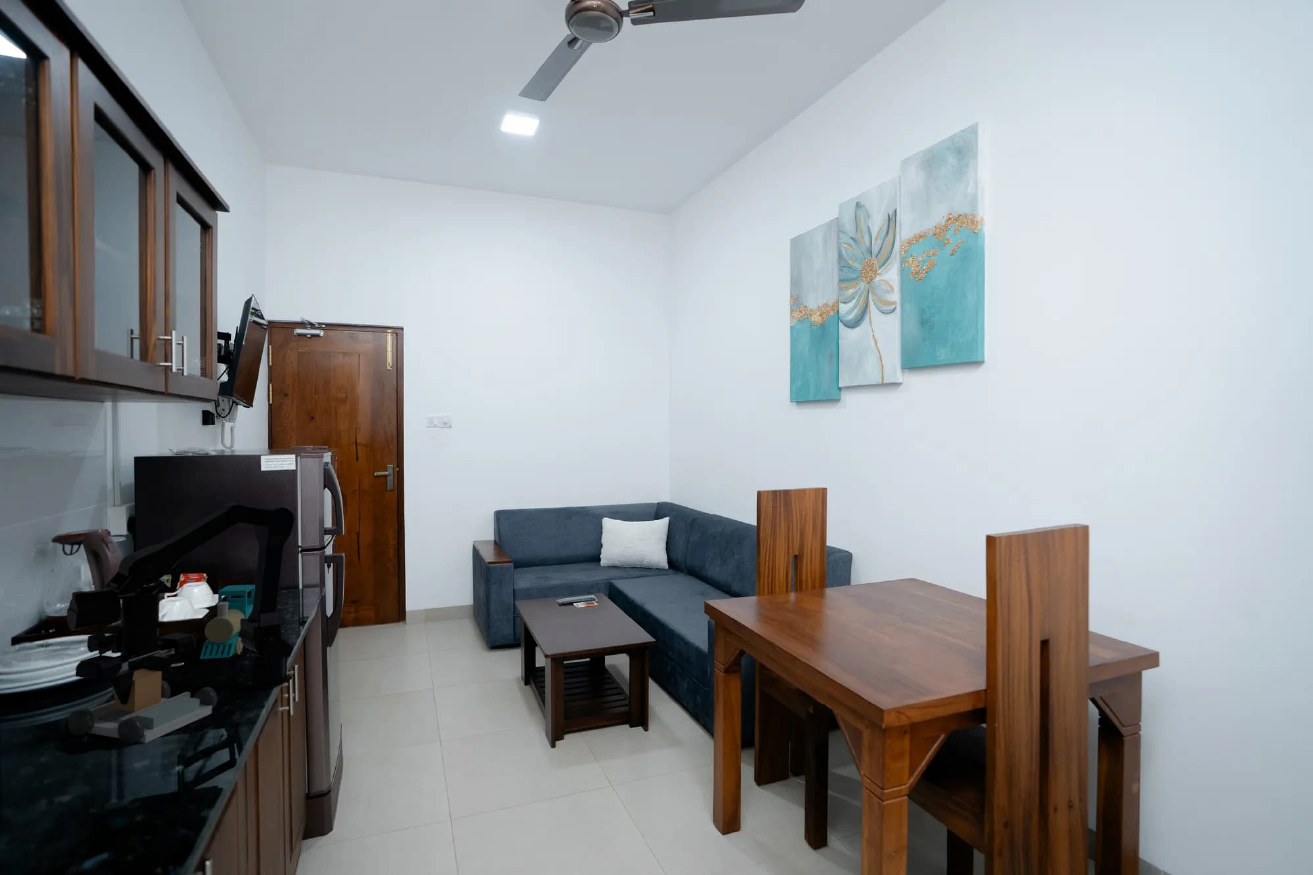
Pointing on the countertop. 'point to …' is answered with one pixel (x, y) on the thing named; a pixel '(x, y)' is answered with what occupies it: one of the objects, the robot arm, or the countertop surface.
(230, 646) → the toy train
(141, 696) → the brown cardboard cube
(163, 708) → the chassis
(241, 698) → the countertop surface
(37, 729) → the countertop surface
